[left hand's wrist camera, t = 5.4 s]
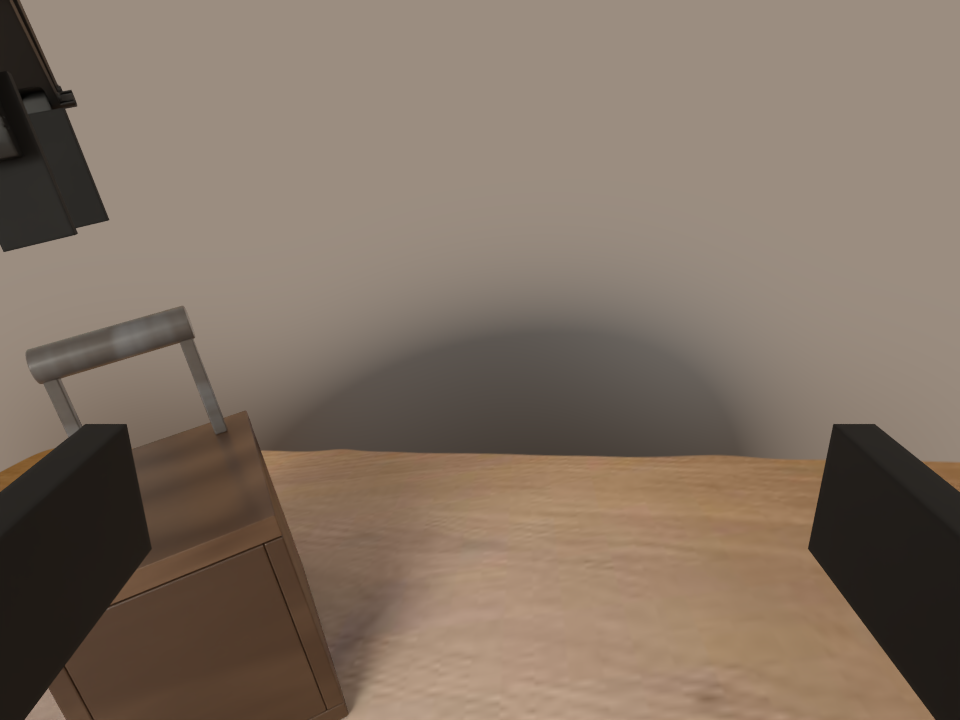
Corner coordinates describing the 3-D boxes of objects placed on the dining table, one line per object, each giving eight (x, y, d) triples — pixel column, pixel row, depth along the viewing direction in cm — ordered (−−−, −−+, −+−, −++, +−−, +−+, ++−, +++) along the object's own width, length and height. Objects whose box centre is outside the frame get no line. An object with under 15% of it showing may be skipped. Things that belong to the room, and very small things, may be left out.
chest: (143, 630, 42) (76, 489, 39) (302, 563, 46) (252, 428, 42) (125, 828, 29) (21, 642, 26) (349, 715, 32) (283, 536, 29)
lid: (77, 485, 39) (11, 347, 37) (251, 425, 43) (203, 293, 40) (21, 641, 26) (-91, 441, 23) (282, 535, 29) (213, 348, 26)
